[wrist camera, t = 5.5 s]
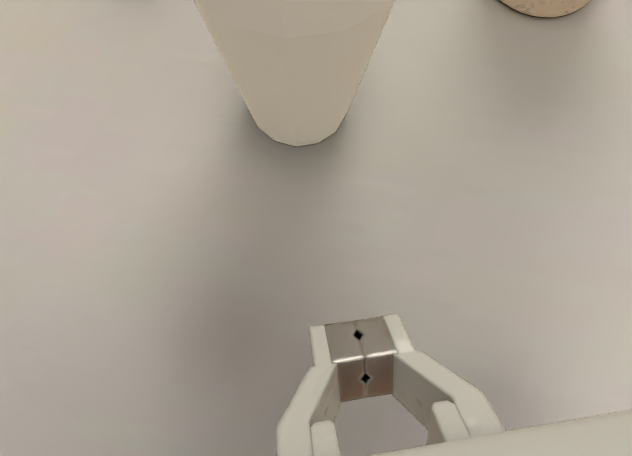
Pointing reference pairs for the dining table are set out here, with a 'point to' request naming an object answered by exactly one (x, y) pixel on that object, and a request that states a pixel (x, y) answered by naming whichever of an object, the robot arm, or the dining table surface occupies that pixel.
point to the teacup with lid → (546, 6)
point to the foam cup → (296, 59)
